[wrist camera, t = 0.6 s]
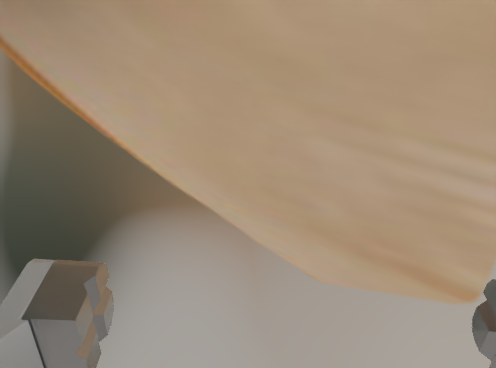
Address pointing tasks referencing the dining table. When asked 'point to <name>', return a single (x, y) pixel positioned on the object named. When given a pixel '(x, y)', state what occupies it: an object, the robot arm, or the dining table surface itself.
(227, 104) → the dining table surface
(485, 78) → the dining table surface
